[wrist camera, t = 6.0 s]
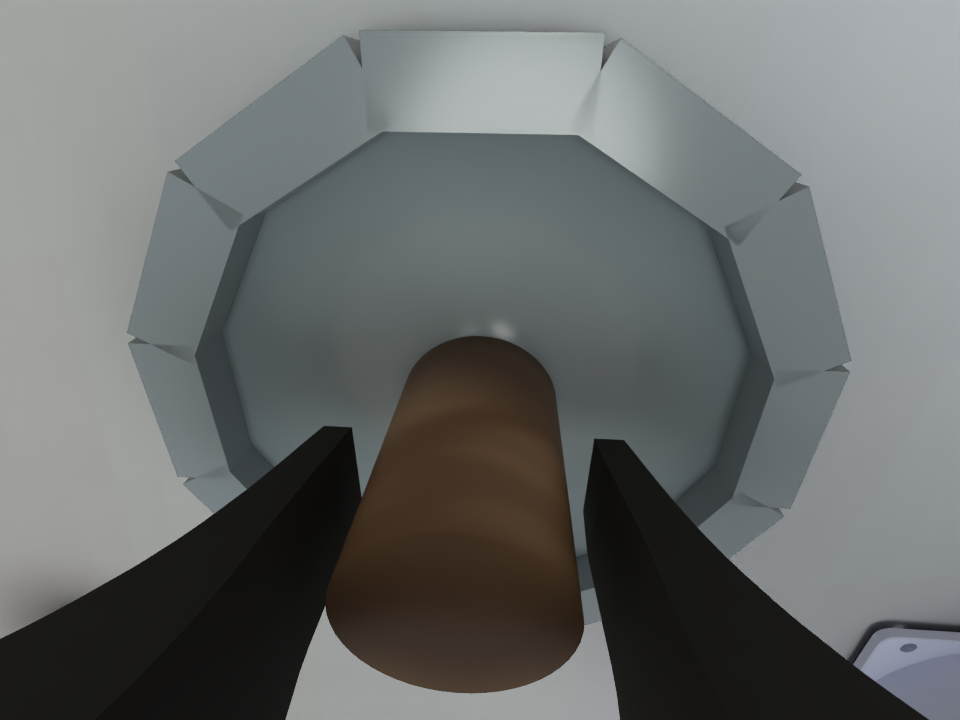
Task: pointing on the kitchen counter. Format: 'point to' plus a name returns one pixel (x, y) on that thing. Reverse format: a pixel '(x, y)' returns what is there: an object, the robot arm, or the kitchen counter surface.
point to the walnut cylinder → (464, 530)
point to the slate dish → (494, 269)
